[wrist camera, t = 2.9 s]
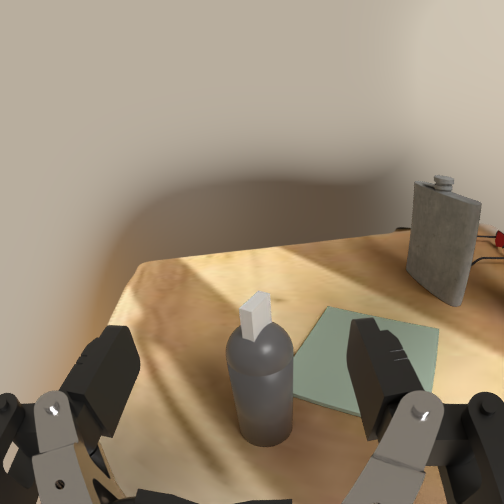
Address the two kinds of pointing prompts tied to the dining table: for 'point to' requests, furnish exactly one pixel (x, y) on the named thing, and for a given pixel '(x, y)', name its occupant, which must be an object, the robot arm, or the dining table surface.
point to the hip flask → (442, 239)
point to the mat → (335, 365)
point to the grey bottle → (261, 374)
